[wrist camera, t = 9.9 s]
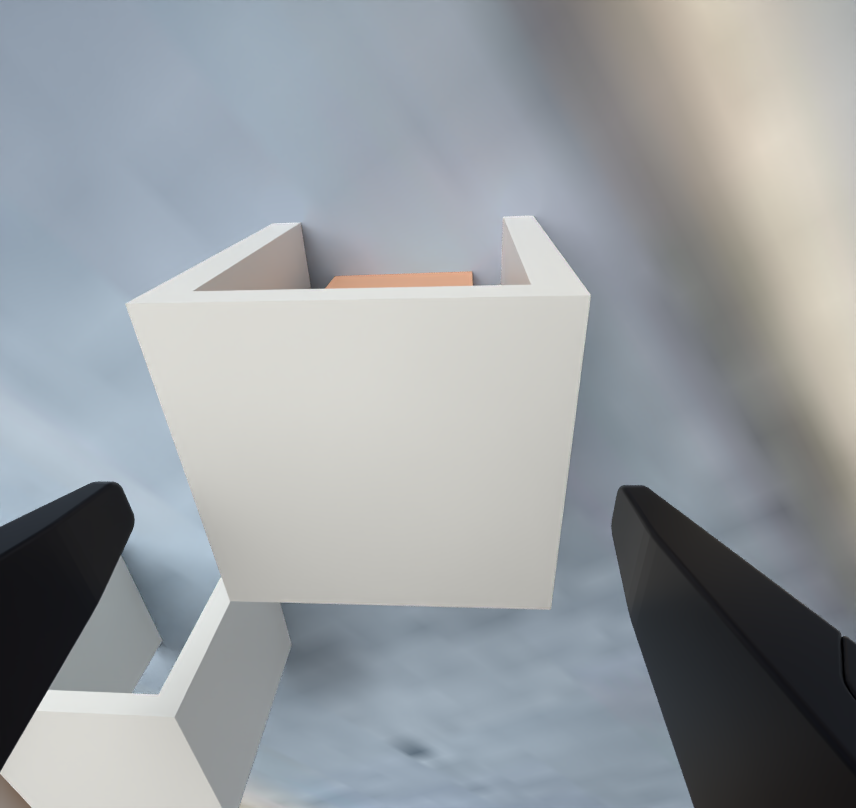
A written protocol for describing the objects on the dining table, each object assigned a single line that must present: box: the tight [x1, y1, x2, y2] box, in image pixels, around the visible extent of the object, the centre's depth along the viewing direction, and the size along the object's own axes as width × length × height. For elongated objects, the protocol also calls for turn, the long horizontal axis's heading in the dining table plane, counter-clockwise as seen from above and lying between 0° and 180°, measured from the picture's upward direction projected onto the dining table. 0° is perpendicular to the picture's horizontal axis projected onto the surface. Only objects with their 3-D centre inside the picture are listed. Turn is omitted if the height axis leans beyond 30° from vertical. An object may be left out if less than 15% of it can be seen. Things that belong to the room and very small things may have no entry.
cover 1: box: [0, 556, 292, 808], centre depth 19 cm, size 7×7×7 cm
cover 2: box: [126, 216, 591, 610], centre depth 12 cm, size 7×7×7 cm
